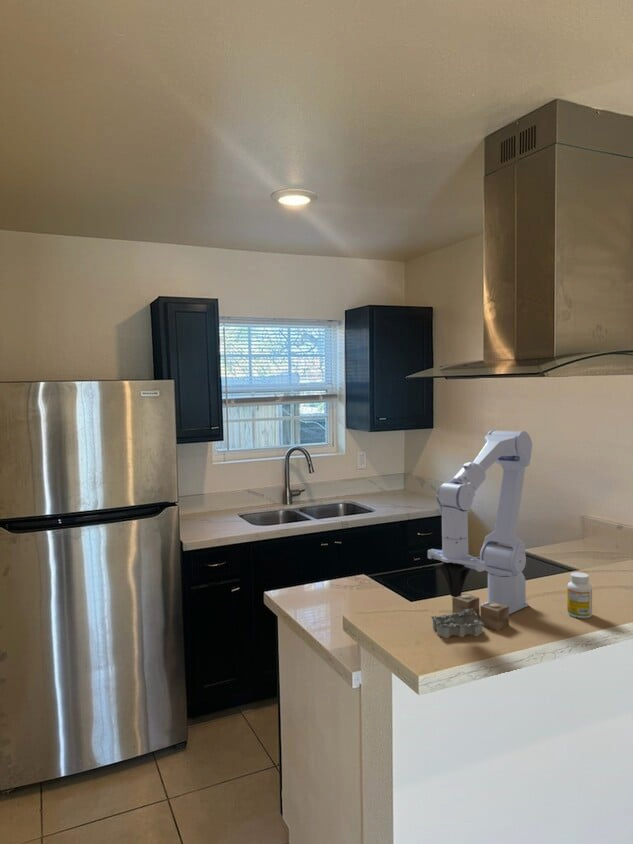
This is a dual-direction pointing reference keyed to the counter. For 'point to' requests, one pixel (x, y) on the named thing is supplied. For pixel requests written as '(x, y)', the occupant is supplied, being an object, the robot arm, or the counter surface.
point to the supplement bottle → (579, 596)
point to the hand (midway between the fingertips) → (455, 595)
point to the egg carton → (458, 624)
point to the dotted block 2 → (495, 615)
